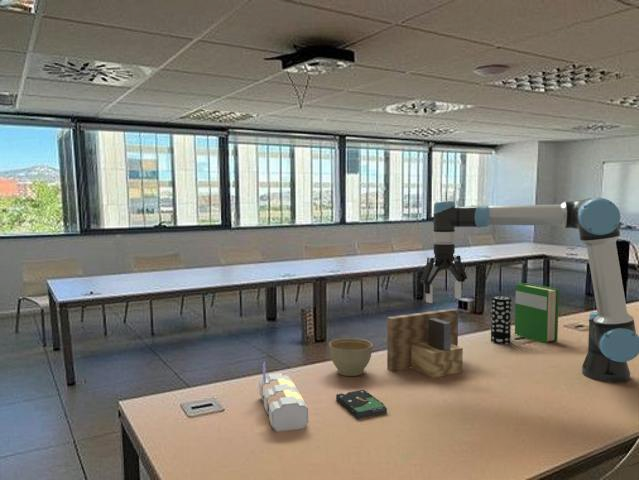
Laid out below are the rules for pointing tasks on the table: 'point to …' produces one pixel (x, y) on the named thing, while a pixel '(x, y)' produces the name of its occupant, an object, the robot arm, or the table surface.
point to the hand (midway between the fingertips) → (443, 300)
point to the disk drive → (361, 404)
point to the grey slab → (439, 334)
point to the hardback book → (536, 312)
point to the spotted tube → (501, 320)
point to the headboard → (422, 344)
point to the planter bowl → (350, 355)
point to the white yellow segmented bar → (284, 403)
